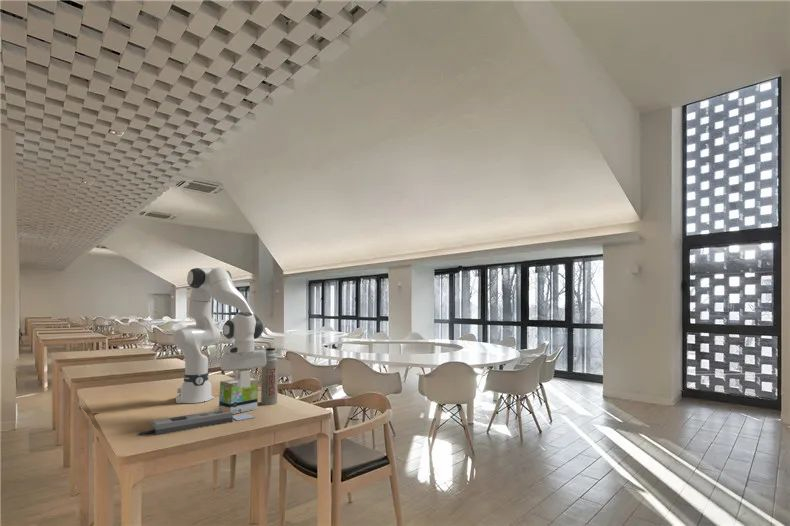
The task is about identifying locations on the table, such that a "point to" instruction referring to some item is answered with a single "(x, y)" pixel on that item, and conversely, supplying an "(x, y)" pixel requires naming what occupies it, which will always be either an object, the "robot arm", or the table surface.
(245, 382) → the charger
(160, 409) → the table surface
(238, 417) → the felt pad
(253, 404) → the tea box
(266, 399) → the thermos bottle
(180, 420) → the power strip
